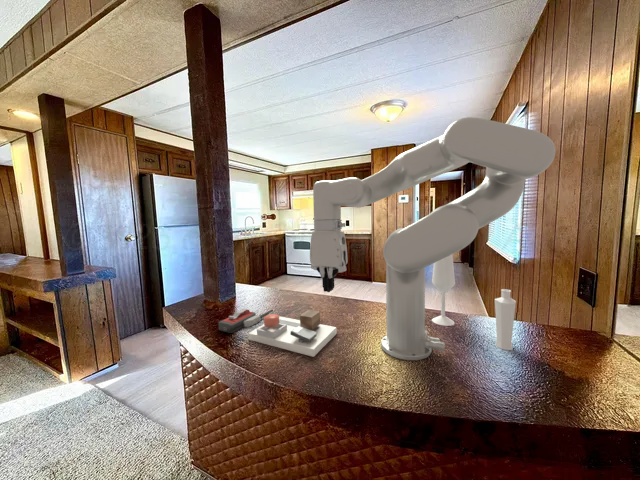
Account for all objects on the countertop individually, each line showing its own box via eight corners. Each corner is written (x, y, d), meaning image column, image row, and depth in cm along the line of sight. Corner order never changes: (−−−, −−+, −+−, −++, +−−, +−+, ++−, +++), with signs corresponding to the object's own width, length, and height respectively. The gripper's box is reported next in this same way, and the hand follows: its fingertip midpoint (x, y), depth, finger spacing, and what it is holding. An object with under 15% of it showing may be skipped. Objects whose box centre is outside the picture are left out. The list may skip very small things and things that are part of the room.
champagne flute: (458, 321, 82) (459, 247, 80) (449, 327, 78) (449, 250, 75) (437, 315, 87) (438, 246, 85) (427, 321, 83) (428, 248, 81)
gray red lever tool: (233, 337, 77) (275, 314, 95) (232, 323, 77) (274, 302, 94) (214, 332, 82) (257, 310, 99) (213, 318, 81) (256, 299, 99)
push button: (282, 321, 75) (282, 315, 75) (273, 327, 71) (272, 320, 71) (270, 319, 77) (270, 313, 77) (261, 325, 74) (260, 318, 73)
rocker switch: (316, 336, 70) (317, 332, 70) (309, 342, 66) (309, 338, 66) (298, 328, 72) (298, 325, 72) (290, 334, 69) (290, 330, 69)
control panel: (336, 333, 76) (336, 322, 76) (313, 356, 64) (313, 343, 64) (278, 321, 87) (277, 311, 87) (249, 339, 75) (248, 328, 74)
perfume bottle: (506, 352, 63) (508, 293, 62) (490, 344, 67) (491, 289, 66) (520, 349, 64) (522, 291, 63) (503, 341, 68) (505, 287, 67)
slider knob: (320, 324, 78) (319, 311, 77) (312, 330, 73) (311, 317, 73) (309, 322, 80) (308, 309, 79) (300, 328, 75) (299, 315, 75)
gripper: (357, 225, 70) (357, 290, 72) (311, 225, 77) (312, 284, 79) (347, 227, 64) (347, 298, 65) (297, 226, 71) (299, 290, 72)
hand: (328, 290), depth 72 cm, fingers closed
